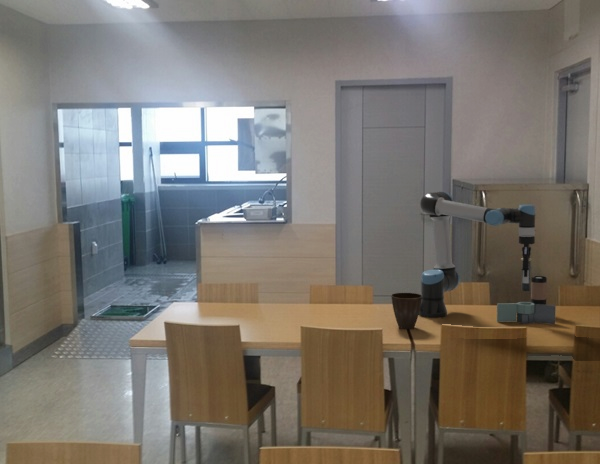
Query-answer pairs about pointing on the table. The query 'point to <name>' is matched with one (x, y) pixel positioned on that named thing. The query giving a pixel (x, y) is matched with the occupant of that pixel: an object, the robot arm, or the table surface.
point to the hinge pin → (527, 285)
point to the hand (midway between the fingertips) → (526, 282)
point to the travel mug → (538, 290)
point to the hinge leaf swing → (513, 310)
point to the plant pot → (406, 309)
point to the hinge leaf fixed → (539, 315)
